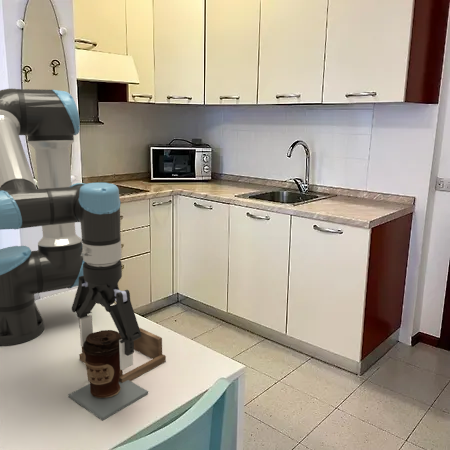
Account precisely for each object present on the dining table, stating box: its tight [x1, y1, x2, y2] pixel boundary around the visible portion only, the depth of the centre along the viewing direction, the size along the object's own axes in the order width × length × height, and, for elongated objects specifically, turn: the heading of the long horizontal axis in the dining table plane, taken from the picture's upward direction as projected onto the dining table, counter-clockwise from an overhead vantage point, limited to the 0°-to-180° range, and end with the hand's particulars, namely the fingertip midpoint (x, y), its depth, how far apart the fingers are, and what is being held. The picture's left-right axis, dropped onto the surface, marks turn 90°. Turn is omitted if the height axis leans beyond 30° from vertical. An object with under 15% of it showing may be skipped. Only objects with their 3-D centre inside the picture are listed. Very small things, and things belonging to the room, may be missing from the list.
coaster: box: [67, 380, 149, 422], centre depth 101 cm, size 12×12×1 cm
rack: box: [78, 327, 167, 383], centre depth 114 cm, size 16×13×6 cm
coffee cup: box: [83, 329, 122, 398], centre depth 100 cm, size 9×8×13 cm
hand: (106, 355), depth 100 cm, fingers open, 13 cm apart
